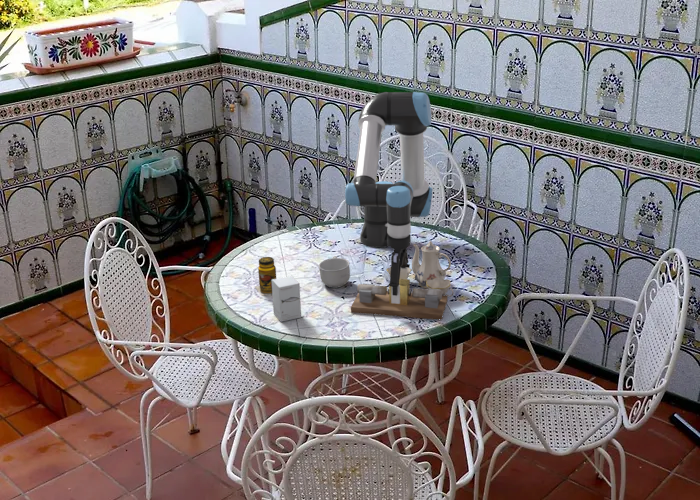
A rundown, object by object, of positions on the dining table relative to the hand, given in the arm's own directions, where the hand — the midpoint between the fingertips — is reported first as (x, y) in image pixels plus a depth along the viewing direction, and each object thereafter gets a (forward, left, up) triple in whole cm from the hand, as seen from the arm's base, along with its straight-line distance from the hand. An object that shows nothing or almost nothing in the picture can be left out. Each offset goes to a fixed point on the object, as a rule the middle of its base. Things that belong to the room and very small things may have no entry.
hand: (399, 294), depth 279 cm
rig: (0, 0, -5) cm, 5 cm away
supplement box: (+13, -35, -5) cm, 38 cm away
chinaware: (-17, +6, -5) cm, 19 cm away
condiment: (-5, -48, -5) cm, 48 cm away
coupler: (0, 0, -3) cm, 3 cm away
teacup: (-15, -26, -5) cm, 30 cm away
